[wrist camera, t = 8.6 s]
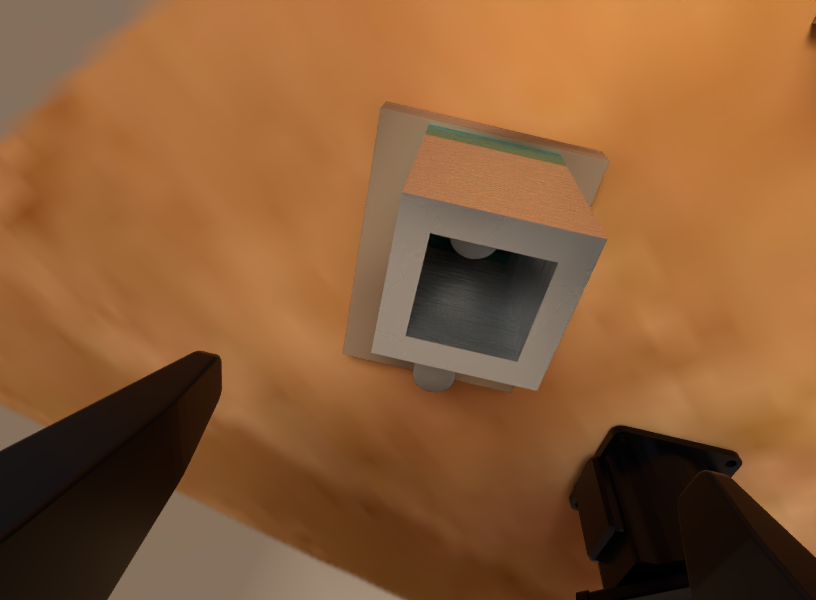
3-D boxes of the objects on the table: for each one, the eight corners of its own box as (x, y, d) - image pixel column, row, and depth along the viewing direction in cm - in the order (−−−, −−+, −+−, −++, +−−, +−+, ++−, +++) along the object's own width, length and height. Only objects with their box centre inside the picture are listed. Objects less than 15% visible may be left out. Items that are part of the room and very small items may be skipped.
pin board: (602, 151, 17) (634, 190, 14) (509, 375, 23) (515, 443, 20) (386, 101, 17) (363, 127, 14) (348, 338, 23) (325, 399, 20)
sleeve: (560, 154, 16) (607, 239, 10) (518, 269, 19) (536, 390, 13) (429, 123, 16) (402, 192, 10) (403, 243, 19) (370, 352, 13)
